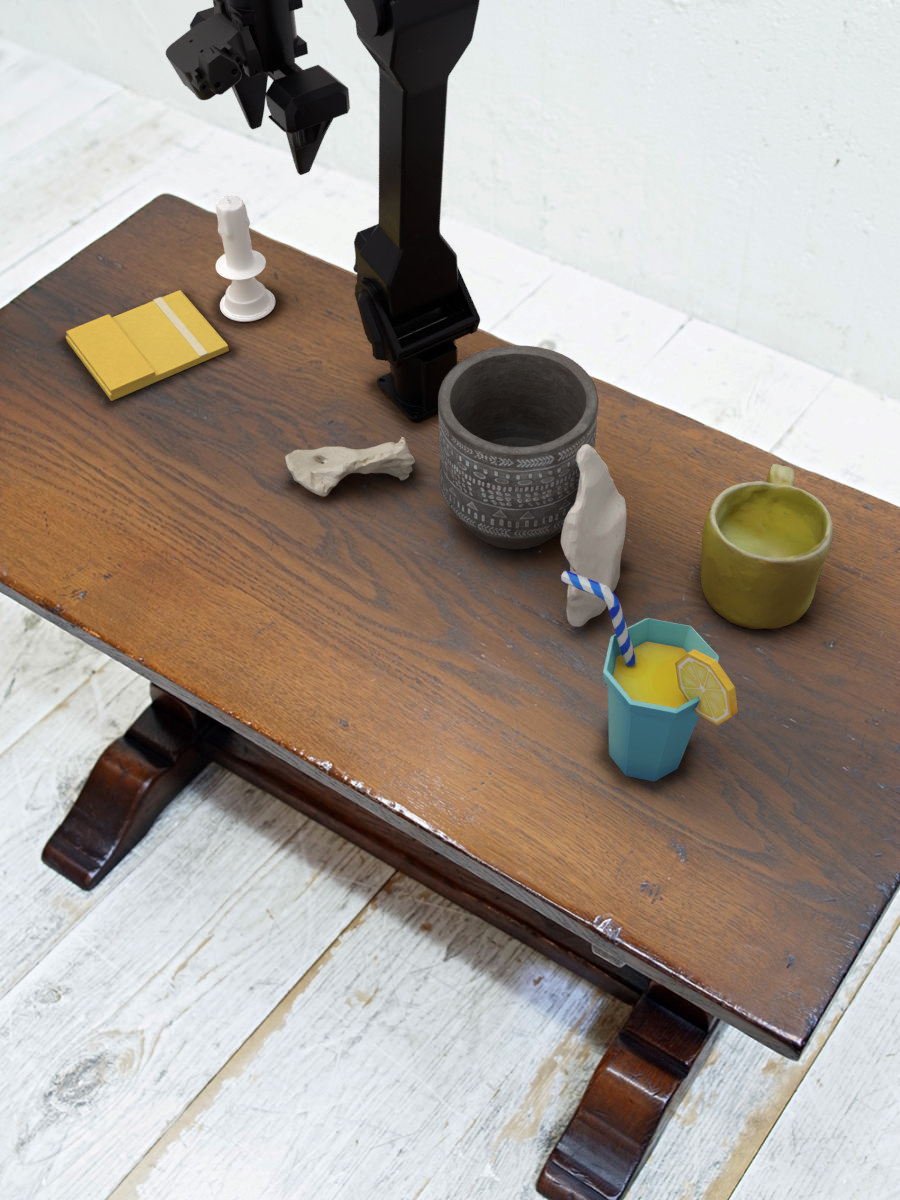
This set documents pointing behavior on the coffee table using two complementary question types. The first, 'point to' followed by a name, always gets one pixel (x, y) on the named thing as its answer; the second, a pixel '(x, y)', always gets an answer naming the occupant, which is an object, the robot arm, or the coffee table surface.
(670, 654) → the cup
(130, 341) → the towel
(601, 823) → the coffee table surface
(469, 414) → the planter
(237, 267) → the candle
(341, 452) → the off-white irregular piece
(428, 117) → the robot arm
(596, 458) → the stone
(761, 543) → the mug
